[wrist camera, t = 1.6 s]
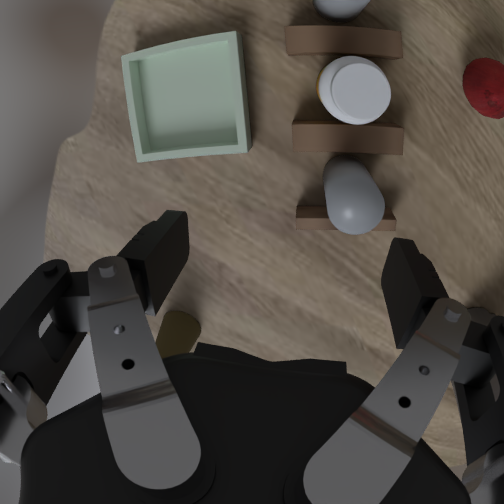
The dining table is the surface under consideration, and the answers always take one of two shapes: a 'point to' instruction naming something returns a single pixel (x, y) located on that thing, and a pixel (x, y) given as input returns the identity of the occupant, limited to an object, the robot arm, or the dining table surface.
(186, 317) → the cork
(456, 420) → the dining table surface
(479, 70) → the onion
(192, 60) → the tray
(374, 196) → the cylinder
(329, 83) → the supplement bottle
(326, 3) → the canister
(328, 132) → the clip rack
